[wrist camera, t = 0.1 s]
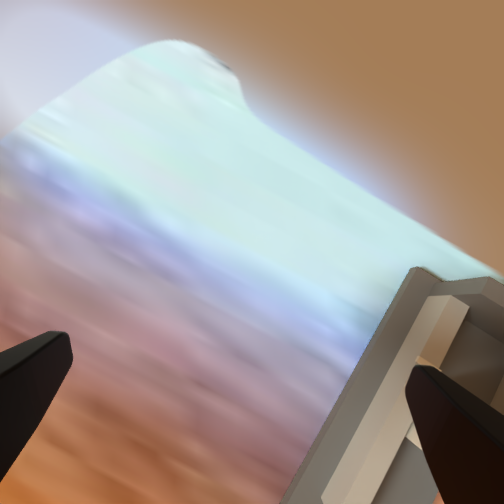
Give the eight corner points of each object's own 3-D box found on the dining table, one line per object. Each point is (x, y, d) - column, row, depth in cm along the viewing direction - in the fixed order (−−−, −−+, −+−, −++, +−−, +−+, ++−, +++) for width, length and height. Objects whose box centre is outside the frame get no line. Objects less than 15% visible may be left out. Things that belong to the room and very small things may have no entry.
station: (428, 628, 19) (510, 775, 13) (273, 514, 20) (285, 601, 14) (548, 353, 22) (657, 370, 16) (410, 268, 23) (466, 255, 17)
